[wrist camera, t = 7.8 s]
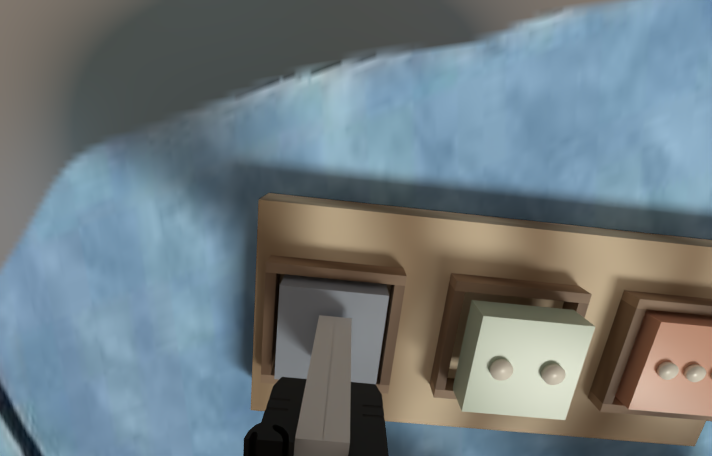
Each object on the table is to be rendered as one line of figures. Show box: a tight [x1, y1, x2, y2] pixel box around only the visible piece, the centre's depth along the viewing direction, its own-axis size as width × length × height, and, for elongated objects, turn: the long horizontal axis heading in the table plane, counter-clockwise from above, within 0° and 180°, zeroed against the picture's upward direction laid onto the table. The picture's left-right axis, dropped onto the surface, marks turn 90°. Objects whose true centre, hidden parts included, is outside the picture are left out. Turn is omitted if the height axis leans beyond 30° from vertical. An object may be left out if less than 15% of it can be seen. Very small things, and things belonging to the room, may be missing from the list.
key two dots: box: [453, 300, 595, 420], centre depth 16 cm, size 5×5×2 cm
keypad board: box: [251, 193, 712, 446], centre depth 19 cm, size 26×12×3 cm, turn 84°
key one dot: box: [274, 274, 389, 384], centre depth 17 cm, size 5×5×2 cm
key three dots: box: [615, 309, 712, 416], centre depth 17 cm, size 5×5×2 cm
